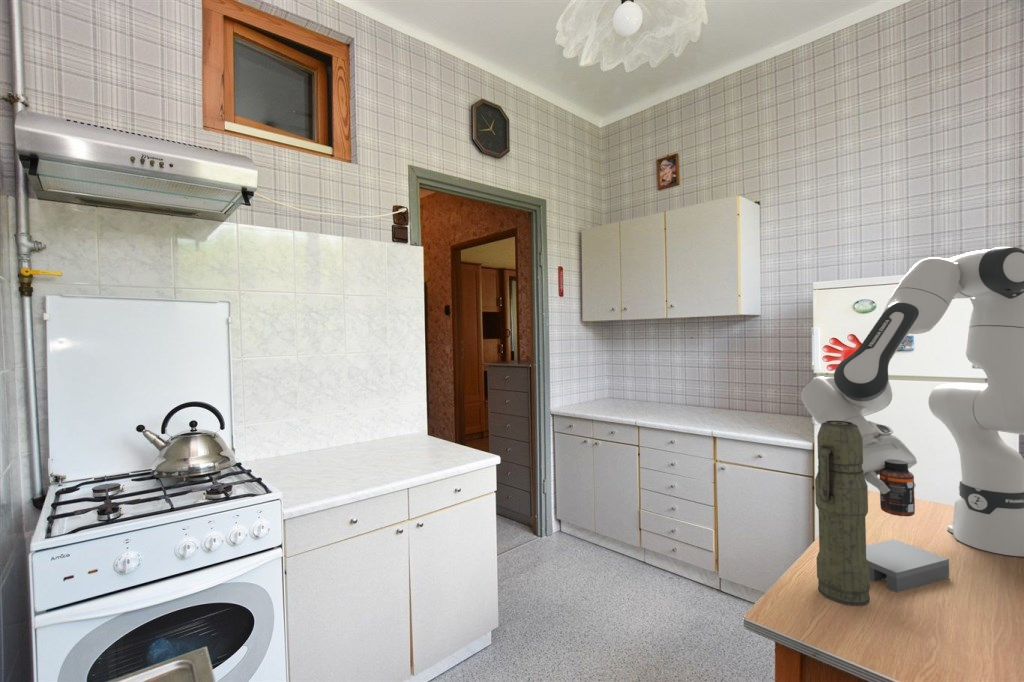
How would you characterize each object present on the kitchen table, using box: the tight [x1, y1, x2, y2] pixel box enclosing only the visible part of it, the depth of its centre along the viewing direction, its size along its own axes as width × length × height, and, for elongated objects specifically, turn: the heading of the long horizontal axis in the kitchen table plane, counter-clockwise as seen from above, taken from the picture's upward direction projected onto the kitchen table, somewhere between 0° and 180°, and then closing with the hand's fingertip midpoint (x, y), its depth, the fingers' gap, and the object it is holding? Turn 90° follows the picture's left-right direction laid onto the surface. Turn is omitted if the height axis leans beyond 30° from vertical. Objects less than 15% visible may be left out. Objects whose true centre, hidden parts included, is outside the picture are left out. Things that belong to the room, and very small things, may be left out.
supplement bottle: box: [879, 459, 916, 517], centre depth 105 cm, size 6×6×11 cm
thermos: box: [814, 421, 871, 607], centre depth 97 cm, size 9×12×35 cm
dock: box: [866, 538, 950, 593], centre depth 105 cm, size 16×11×4 cm
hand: (900, 490), depth 105 cm, fingers closed on supplement bottle, 6 cm apart
